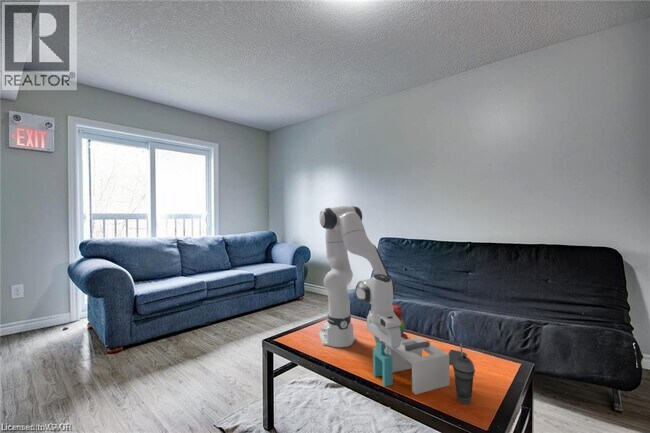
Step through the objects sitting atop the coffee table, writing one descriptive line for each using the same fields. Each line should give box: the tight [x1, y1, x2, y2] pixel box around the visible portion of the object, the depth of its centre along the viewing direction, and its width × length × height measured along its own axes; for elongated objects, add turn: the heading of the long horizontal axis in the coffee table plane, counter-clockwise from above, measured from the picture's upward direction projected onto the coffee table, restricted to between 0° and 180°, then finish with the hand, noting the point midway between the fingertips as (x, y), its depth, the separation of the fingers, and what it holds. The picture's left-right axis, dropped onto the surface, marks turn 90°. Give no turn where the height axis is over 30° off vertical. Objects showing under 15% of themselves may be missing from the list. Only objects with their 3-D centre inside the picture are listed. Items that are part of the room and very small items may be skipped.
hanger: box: [372, 340, 394, 387], centre depth 119 cm, size 9×4×15 cm, turn 21°
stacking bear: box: [392, 304, 409, 339], centre depth 159 cm, size 11×10×18 cm
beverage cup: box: [452, 342, 476, 405], centre depth 105 cm, size 7×7×20 cm
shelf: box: [390, 336, 450, 395], centre depth 120 cm, size 18×16×14 cm
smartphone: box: [447, 349, 467, 366], centre depth 136 cm, size 7×1×15 cm
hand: (382, 349), depth 119 cm, fingers open, 5 cm apart
